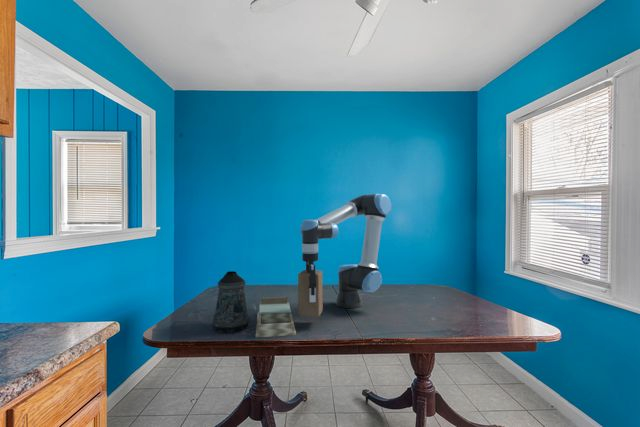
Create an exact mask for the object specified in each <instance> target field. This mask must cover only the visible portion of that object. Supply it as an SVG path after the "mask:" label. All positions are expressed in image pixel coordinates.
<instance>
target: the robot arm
mask: <svg viewBox="0 0 640 427" xmlns="http://www.w3.org/2000/svg"><path fill="white" fill-rule="evenodd" d="M391 211H392V202H391V200H390V198H389V196H388V195H386V194H384V193H373V194H363V195H359V196H357V197H355V198H353V199H350V200H349V201H347V202H345V205H343V206H340V207H339V208H337V209H334V210H332V211H330V212H329V213H326V214H325V215H322V216H321V217H318V218H316V219H304V220H302V222H301V223H302V224H301V225H300V228H299V231H300V234H301V242H302V244H301V246H300V248H302V255H301V257H302V258H301V260H302V261H303V262H305V270H306V271H307V272H308V273H309V274H310V277H309V282H310V286H309V287H308V288H309V299H310V302H316V274H315V270H316V265H315V263H314V262H318V261H319V253H318V252H319V240H325V239H326V240H327V239H330V240H331V239H334V238H336V237H338V235H339V227H338V224H341V223H342V222H344V221H346V220H348V219H349V218H356V217H358V216H363V215H364V218H365V219H366V222H365V223H366V224H365V230H364V237H363V244H362V250H361V260H360V262H359V263H358V264H354V263H353V264H343V265H339V267H338V272H337V273H338V291H337V292H338V293H337V294H336V298H335V304H334V305H335V306H336V307H339V308H344V309H357V308H360V307H361V306H362V305H363V304H362V298H361V295H360V292H359V291H363V292H367V293H368V292H369V293H374V292H376V291H377V290H379V288H380V287H381V285H382V281H383V278H382V274H381V272H379V268H380V267H379V266H378V265H377V264H378V263H377V262H378V257H379V256H378V255H379V254H378V253H379V249H380V241H381V234H382V226H383V222H384V221H385V220H386V217H387V215H389V214H390V213H391ZM312 284H314V285H312Z"/></svg>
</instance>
